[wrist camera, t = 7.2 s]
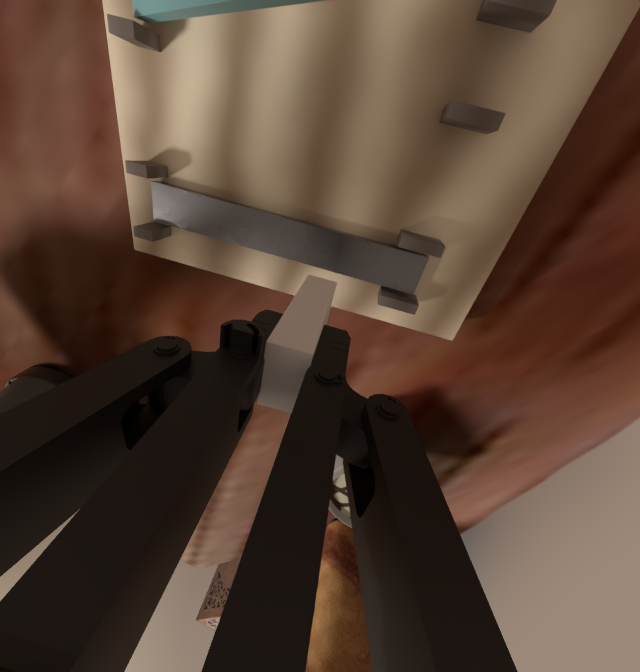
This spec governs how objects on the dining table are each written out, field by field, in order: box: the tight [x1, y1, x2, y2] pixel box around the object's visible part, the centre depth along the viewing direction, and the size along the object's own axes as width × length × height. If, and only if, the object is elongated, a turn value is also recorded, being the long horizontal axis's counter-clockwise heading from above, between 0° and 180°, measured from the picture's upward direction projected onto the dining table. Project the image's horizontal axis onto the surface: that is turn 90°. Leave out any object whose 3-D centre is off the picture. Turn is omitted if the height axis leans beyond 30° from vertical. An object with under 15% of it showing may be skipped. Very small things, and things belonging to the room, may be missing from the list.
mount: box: [102, 0, 640, 340], centre depth 21 cm, size 30×22×5 cm
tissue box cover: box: [196, 559, 319, 631], centre depth 61 cm, size 26×14×10 cm, turn 134°
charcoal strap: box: [151, 181, 429, 295], centre depth 23 cm, size 22×3×1 cm, turn 78°
